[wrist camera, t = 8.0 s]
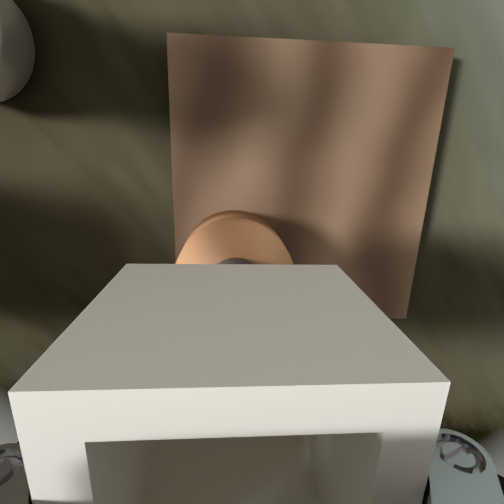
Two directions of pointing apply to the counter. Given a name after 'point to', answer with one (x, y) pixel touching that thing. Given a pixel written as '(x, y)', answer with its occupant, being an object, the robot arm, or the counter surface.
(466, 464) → the robot arm
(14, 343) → the counter surface
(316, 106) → the post board
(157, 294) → the hollow square frame
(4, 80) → the plastic bottle
